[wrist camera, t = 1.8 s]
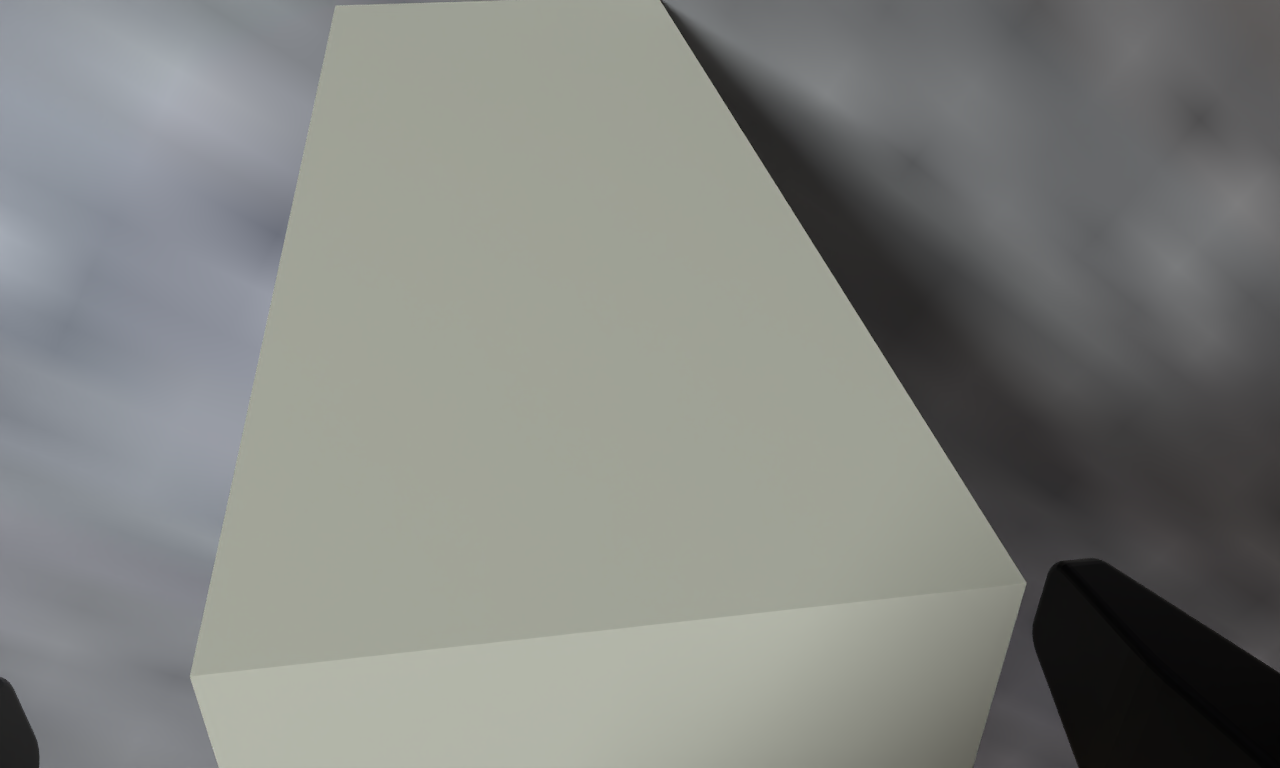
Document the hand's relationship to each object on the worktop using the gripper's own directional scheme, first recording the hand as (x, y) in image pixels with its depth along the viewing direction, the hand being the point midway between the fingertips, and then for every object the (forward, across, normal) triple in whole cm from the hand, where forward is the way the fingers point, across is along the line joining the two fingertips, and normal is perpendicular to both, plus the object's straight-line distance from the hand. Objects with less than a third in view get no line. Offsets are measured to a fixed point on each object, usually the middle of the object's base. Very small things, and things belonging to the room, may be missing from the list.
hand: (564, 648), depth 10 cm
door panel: (+4, 0, 0) cm, 4 cm away
